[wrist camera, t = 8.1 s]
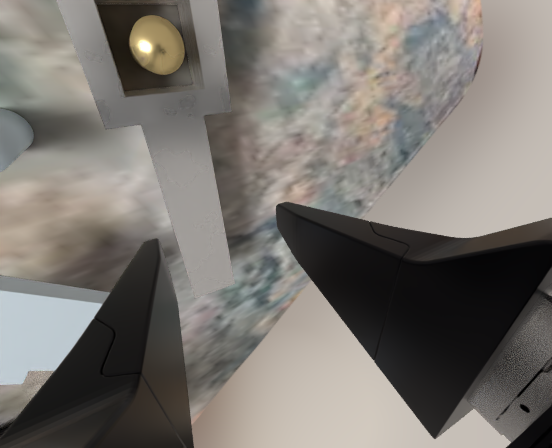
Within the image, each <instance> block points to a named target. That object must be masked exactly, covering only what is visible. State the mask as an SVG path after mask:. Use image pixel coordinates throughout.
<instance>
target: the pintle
mask: <svg viewBox="0 0 552 448" xmlns="http://www.w3.org/2000/svg"><path fill="white" fill-rule="evenodd" d="M129 50H130V53H131V55H132V57H133V58H134V60H135V61H136V62H137V63H138V64H139V65H140V66H141V67H143V68H145V69H147V70H149V71H151V72H154V73H156V74H161V75H166V74H171V73H173V72H175V71H176V70H177V69H178V68H179V67H180V66H181V64H182V62H183V60H184V54H185V49H184V43H183V40H182V37H181V35H180V33H179V32H178V30H177V29H176V28H175V26H174V25H173V24H171V23H170V22H169V21H168V20H166V19H164V18H162V17H160V16H155V15H148V16H144V17H142V18H140V19H139V20H138V21H137V22H136V23H135V25H134V26H133V28H132V31H131V34H130V36H129Z"/></svg>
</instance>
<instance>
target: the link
mask: <svg viewBox="0 0 552 448" xmlns="http://www.w3.org/2000/svg"><path fill="white" fill-rule="evenodd" d="M57 3H58V6H59V8H60V11H61V14H62V16H63V19H64V21H65V24H66V27H67V29H68V32H69V34H70V37H71V40H72V42H73V45H74V48H75V50H76V53H77V55H78V58H79V61H80V63H81V66H82V68H83V71H84V74H85V76H86V79H87V82H88V84H89V87H90V89H91V92H92V95H93V97H94V100H95V102H96V105H97V108H98V110H99V113H100V115H101V118H102V121H103V123H104V126H105V129H112V128H119V127H126V126H134V125H141V126H142V129H143V132H144V135H145V139H146V142H147V145H148V148H149V151H150V155H151V158H152V161H153V164H154V168H155V171H156V174H157V177H158V180H159V184H160V187H161V190H162V193H163V197H164V200H165V203H166V206H167V209H168V213H169V216H170V219H171V222H172V226H173V229H174V232H175V235H176V238H177V242H178V245H179V248H180V251H181V255H182V258H183V261H184V264H185V268H186V271H187V274H188V277H189V280H190V284H191V287H192V290H193V293H194V297H195V298H198V297H201V296H203V295H206V294H209V293H211V292H214V291H217V290H219V289H222V288H225V287H227V286H230V285H233V284H235V282H234V276H233V271H232V265H231V260H230V255H229V249H228V244H227V238H226V233H225V227H224V222H223V217H222V211H221V206H220V200H219V195H218V190H217V184H216V179H215V173H214V168H213V163H212V157H211V152H210V146H209V141H208V136H207V130H206V125H205V119H204V116H205V115H212V114H219V113H226V112H232V110H231V102H230V95H229V87H228V79H227V72H226V64H225V56H224V49H223V41H222V33H221V26H220V18H219V10H218V3H217V0H57ZM97 4H177V7H178V12H179V17H180V22H181V27H182V32H183V38H184V43H185V48H186V53H187V58H188V63H189V68H190V73H191V79H192V85H182V86H172V87H162V88H152V89H141V90H131V91H124V88H123V85H122V82H121V79H120V75H119V72H118V69H117V66H116V63H115V60H114V57H113V54H112V51H111V47H110V44H109V41H108V38H107V35H106V32H105V29H104V26H103V23H102V19H101V16H100V13H99V10H98V7H97Z"/></svg>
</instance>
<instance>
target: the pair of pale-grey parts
mask: <svg viewBox="0 0 552 448" xmlns="http://www.w3.org/2000/svg"><path fill="white" fill-rule="evenodd" d="M33 139H34V133H33V130H32V128H31V126H30V124H29V123H28V122H27V121H26V120H25V119H24V118H23V117H21V116H20V115H18V114H17V113H15V112H12V111H10V110H6V109H0V172H1V171H3V170H5V169H6V168H7V167H8V166H9V165H10V164H11V163H12V162H14V161H15V160H16V159H17V158H18V157H19V156H20V155H21V154H22V153H23V152H24V151H25V150H26V149H27V148H28V147H29V146H30V145H31V144H32V142H33ZM109 294H110V292H104V291H98V290H91V289H85V288H78V287H72V286H66V285H59V284H53V283H46V282H40V281H34V280H27V279H21V278H14V277H8V276H2V275H0V385H11V384H23V382H24V380H25V378H26V376H27V374H28V372H29V371H55V370H56V369H57V367H58V366H59V365H60V363H61V362H62V361H63V360H64V358H65V357H66V356H67V354H68V353H69V352H70V351H71V349H72V348H73V347H74V345H75V344H76V342H77V341H78V339H79V338H80V337H81V335H82V334H83V332H84V331H85V330H86V328H87V327H88V325H89V324H90V322H91V321H92V319H94V316H95V315H96V313H97V312H98V310H99V309H100V307H101V306H102V304H103V303H104V301H105V300H106V298H107V297H108V295H109Z"/></svg>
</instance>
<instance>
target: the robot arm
mask: <svg viewBox="0 0 552 448" xmlns="http://www.w3.org/2000/svg"><path fill="white" fill-rule="evenodd" d="M276 220H277V227H278V230H279V231H280V233H281V235H282V237H283V238H284V240H285V242H286V243H287V245H288V247H289V248H290V250H291V252H292V254H293V255H294V257H295V258H296V260H297V261H298V263H299V264H300V265H301V267H302V268H303V269H304V271H305V272H306V273H307V274H308V276H309V277H310V278H311V280H312V281H313V282H314V284H315V285H316V286H317V287H318V289H319V290H320V291H321V293H322V294H323V295H324V297H325V298H326V299H327V300H328V302H329V303H330V304H331V306H332V307H333V308H334V310H335V311H336V312H337V313H338V315H339V316H340V317H341V319H342V320H343V321H344V323H345V324H346V325H347V327H348V328H349V329H350V330H351V332H352V333H353V334H354V336H355V337H356V338H357V339H358V341H359V342H360V343H361V345H362V346H363V347H364V349H365V350H366V351H367V353H368V354H369V355H370V357H371V358H372V359H373V360H375V363H376V365H377V366H378V367H379V368H380V370H381V371H382V372H383V374H384V375H385V376H386V377H387V379H388V380H389V381H390V383H391V384H392V385H393V387H394V388H395V389H396V391H397V392H398V393H399V395H400V396H401V397H402V398H403V399H404V401H405V402H406V404H407V405H408V406H409V408H410V409H411V410H412V411H413V413H414V414H415V415H416V417H417V418H418V419H419V420H420V422H421V423H422V424H423V426H424V427H425V428H426V430H427V431H428V432H429V433H430V435H431V436H432V437H433V438H434V439H436V438H437V437H439V436H440V435H441V434H442V433H444V432H445V431H446V430H447V429H449V428H450V427H451V426H452V425H454V424H455V423H456V422H458V421H459V420H460V419H461V418H462V417H464V416H465V415H466V414H467V413H469V412H470V411H471V410H473V409H476V410H477V412H478V413H480V414H481V416H482V417H483V418H485V420H487V422H489V424H491V426H493V427H494V428H495V429H496V430H497V431H498V432H499V433H500V434H501V435H504V436H505V437H506V438H507V439H508V440H509V441H511V442H512V443H510V444H509V446H507V447H506V448H552V218H549V219H545V220H541V221H537V222H533V223H530V224H526V225H522V226H518V227H514V228H511V229H507V230H503V231H499V232H495V233H492V234H488V235H484V236H480V237H474V238H455V237H448V236H442V235H437V234H431V233H425V232H420V231H414V230H408V229H403V228H398V227H393V226H388V225H384V224H379V223H375V222H369V221H366V220H362V219H358V218H354V217H349V216H345V215H341V214H337V213H332V212H328V211H324V210H320V209H315V208H311V207H307V206H303V205H298V204H294V203H290V202H284V203H280V204H278V205H277V206H276ZM0 448H194V444H193V435H192V426H191V417H190V408H189V399H188V390H187V381H186V372H185V363H184V354H183V345H182V336H181V327H180V318H179V309H178V303H177V298H176V294H175V290H174V287H173V283H172V279H171V275H170V271H169V268H168V264H167V261H166V258H165V255H164V252H163V249H162V246H161V243H160V241H159V239H157V238H155V239H152V240H148V241H145V242H144V243H143V244H142V246H141V247H140V249H139V250H138V252H137V253H136V255H135V256H134V258H133V259H132V261H131V262H130V264H129V265H128V267H127V268H126V270H125V271H124V273H123V274H122V276H121V277H120V279H119V280H118V282H117V283H116V285H115V286H114V288H113V289H112V291H111V292H110V294H109V295H108V297H107V298H106V300H105V301H104V303H103V304H102V306H101V307H100V309H99V310H98V312H97V313H96V315H95V316H94V319H92V321H91V322H90V324H89V325H88V327H87V328H86V330H85V331H84V332H83V334H82V335H81V337H80V338H79V339H78V341H77V342H76V344H75V345H74V347H73V348H72V349H71V351H70V352H69V353H68V354H67V356H66V357H65V358H64V360H63V361H62V362H61V363H60V365H59V366H58V367H57V369H56V370H55V371H54V372H53V374H52V375H51V376H50V377H49V379H48V380H47V381H46V382H45V384H44V385H43V386H42V387H41V388H40V390H39V391H38V392H37V393H36V395H35V396H34V397H33V398H32V400H31V401H30V402H29V403H28V404H27V406H26V407H25V408H24V409H23V411H22V412H21V413H20V414H19V416H18V417H17V418H16V419H15V421H14V422H13V423H12V424H11V425H10V427H8V428H5V429H3V430H1V431H0Z"/></svg>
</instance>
